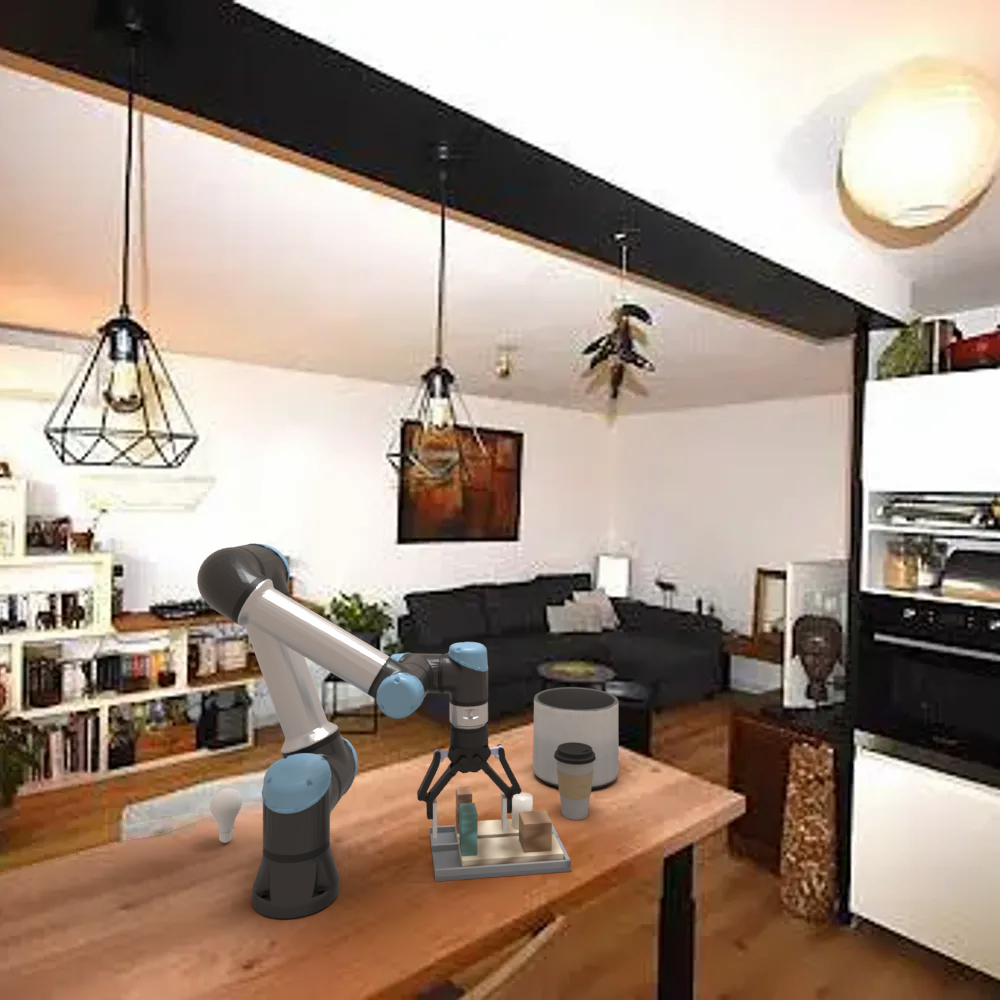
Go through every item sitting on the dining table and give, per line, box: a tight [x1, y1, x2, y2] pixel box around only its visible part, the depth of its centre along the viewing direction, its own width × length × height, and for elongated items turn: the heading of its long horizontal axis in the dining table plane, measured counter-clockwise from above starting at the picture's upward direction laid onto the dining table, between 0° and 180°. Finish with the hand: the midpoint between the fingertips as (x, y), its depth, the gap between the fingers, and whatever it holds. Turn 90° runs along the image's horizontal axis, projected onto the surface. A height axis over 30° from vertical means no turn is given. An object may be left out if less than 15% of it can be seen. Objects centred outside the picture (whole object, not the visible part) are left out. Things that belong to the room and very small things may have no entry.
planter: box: [532, 686, 620, 790], centre depth 184 cm, size 22×22×20 cm
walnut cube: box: [519, 809, 553, 853], centre depth 141 cm, size 6×6×6 cm
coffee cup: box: [554, 742, 596, 821], centre depth 161 cm, size 9×9×15 cm
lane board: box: [429, 823, 572, 882], centre depth 144 cm, size 26×18×2 cm
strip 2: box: [458, 802, 564, 867], centre depth 140 cm, size 20×8×10 cm, turn 99°
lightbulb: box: [209, 787, 243, 844], centre depth 147 cm, size 6×6×11 cm
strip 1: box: [454, 785, 519, 843], centre depth 149 cm, size 20×6×10 cm, turn 99°
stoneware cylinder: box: [511, 791, 534, 830], centre depth 149 cm, size 4×4×6 cm
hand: (469, 832), depth 139 cm, fingers open, 13 cm apart
